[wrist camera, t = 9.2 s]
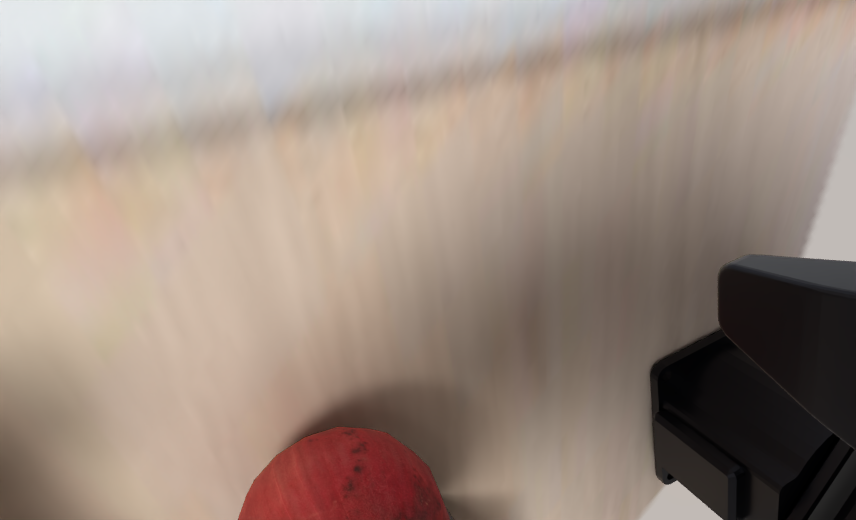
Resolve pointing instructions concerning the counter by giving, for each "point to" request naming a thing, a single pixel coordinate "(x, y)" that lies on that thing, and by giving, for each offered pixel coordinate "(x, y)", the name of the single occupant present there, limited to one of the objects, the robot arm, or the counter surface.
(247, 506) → the onion
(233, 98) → the counter surface
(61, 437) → the counter surface
